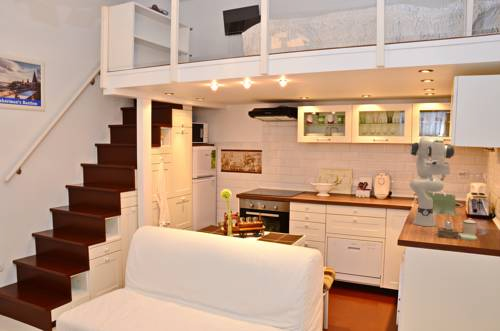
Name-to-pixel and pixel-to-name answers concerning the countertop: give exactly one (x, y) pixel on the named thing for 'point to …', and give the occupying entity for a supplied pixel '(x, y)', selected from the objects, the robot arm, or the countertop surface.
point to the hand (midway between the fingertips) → (436, 180)
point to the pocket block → (447, 233)
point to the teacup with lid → (469, 226)
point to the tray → (467, 237)
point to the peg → (448, 225)
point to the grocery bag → (443, 203)
